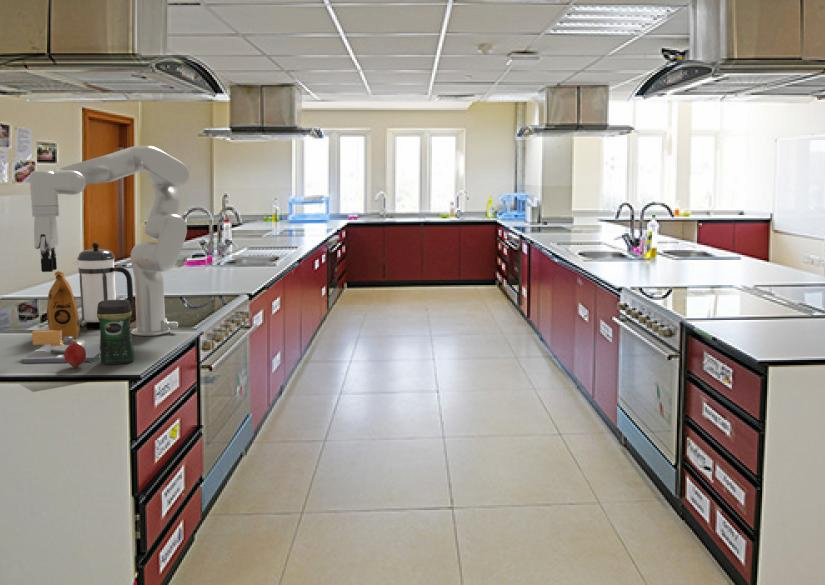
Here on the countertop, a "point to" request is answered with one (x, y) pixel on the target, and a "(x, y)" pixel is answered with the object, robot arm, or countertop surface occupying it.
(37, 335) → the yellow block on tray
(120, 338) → the coffee jar
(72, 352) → the pomegranate
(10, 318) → the countertop surface
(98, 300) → the coffee press
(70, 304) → the coffee package
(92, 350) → the board
